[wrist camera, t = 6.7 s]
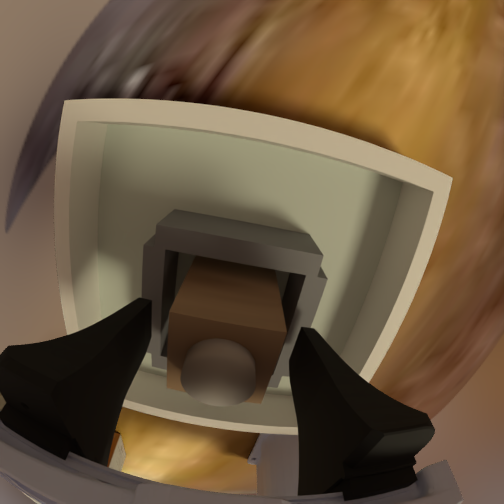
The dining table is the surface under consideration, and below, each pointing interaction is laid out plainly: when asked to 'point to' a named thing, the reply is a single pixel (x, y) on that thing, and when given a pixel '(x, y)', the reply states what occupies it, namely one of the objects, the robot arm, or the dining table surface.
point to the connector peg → (225, 332)
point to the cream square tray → (238, 232)
